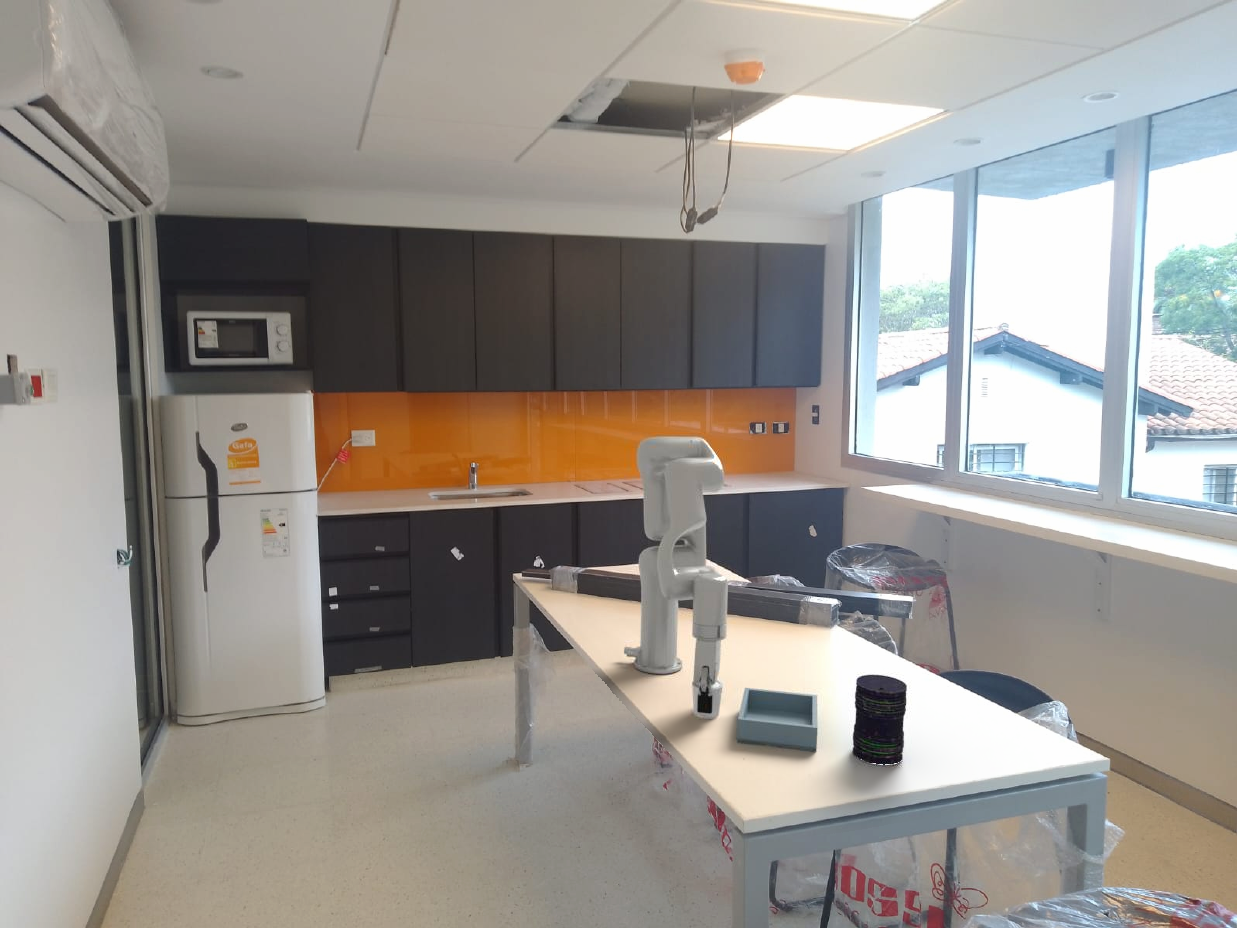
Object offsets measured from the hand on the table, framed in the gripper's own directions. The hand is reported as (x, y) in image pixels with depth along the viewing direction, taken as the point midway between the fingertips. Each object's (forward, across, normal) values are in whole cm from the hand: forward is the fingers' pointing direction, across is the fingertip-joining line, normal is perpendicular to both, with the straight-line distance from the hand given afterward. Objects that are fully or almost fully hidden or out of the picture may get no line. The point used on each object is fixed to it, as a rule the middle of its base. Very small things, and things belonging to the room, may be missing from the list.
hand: (707, 704), depth 186 cm
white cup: (+2, 0, 0) cm, 3 cm away
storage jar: (+3, +11, +36) cm, 37 cm away
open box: (+2, +4, +16) cm, 16 cm away
